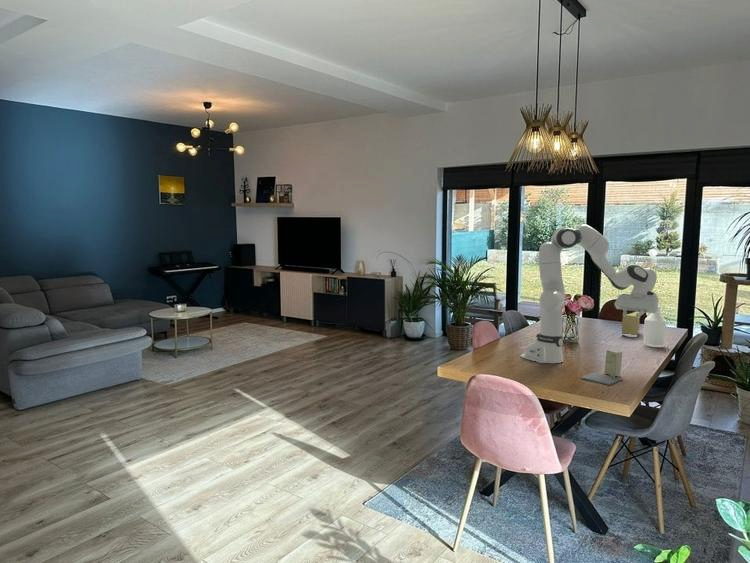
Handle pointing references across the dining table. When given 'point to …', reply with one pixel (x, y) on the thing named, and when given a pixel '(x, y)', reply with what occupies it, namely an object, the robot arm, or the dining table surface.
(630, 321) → the cheese
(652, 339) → the bottle
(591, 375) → the mat
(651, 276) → the robot arm
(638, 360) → the dining table surface
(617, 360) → the skincare box
